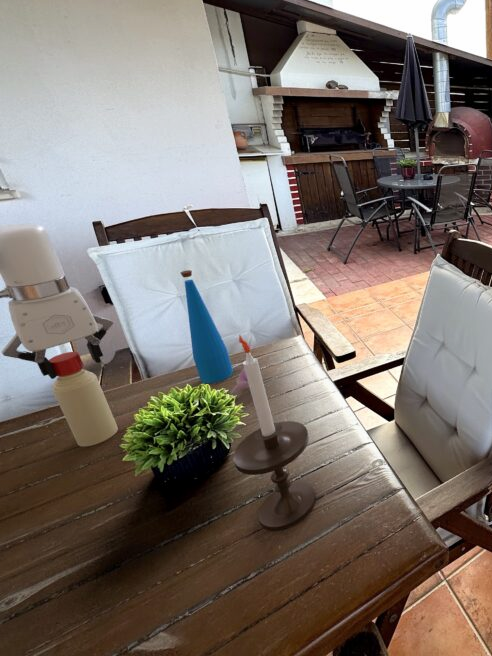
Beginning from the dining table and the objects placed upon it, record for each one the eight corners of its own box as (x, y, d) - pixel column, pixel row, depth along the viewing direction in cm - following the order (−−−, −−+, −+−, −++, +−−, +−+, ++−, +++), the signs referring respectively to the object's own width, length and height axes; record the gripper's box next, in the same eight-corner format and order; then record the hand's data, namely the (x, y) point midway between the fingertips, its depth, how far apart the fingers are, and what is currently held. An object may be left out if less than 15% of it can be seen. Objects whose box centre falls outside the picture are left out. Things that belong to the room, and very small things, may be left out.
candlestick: (238, 523, 69) (180, 346, 57) (290, 475, 78) (250, 314, 66) (285, 545, 65) (234, 360, 53) (334, 491, 75) (300, 325, 63)
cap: (85, 369, 83) (79, 356, 81) (55, 379, 79) (49, 365, 78) (82, 362, 85) (76, 349, 84) (53, 371, 82) (47, 357, 81)
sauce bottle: (70, 450, 84) (32, 371, 77) (88, 429, 90) (54, 354, 83) (109, 442, 86) (75, 364, 80) (123, 422, 92) (93, 349, 85)
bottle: (217, 385, 105) (185, 277, 95) (193, 382, 106) (160, 275, 96) (239, 369, 112) (212, 267, 102) (217, 367, 113) (188, 265, 103)
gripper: (-29, 309, 68) (16, 396, 74) (107, 278, 82) (135, 354, 88) (-36, 299, 72) (8, 383, 78) (95, 272, 85) (123, 345, 92)
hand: (75, 367), depth 83 cm, fingers open, 6 cm apart
